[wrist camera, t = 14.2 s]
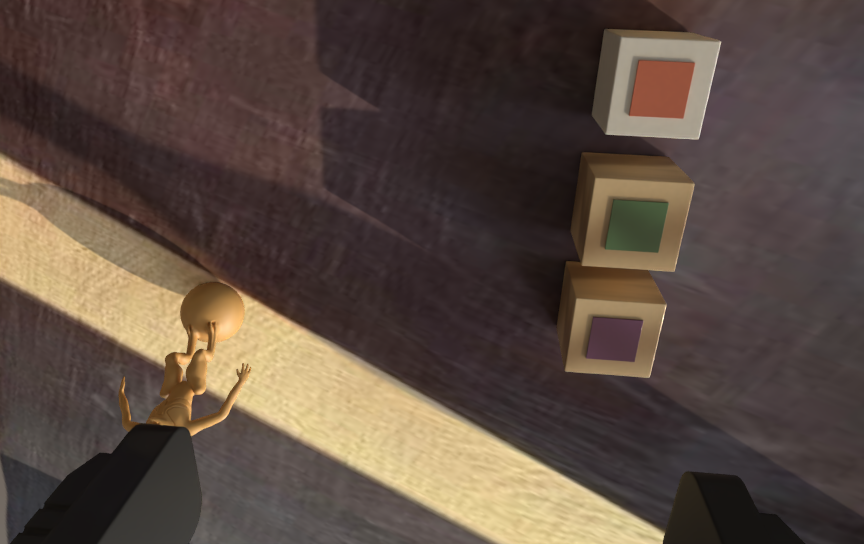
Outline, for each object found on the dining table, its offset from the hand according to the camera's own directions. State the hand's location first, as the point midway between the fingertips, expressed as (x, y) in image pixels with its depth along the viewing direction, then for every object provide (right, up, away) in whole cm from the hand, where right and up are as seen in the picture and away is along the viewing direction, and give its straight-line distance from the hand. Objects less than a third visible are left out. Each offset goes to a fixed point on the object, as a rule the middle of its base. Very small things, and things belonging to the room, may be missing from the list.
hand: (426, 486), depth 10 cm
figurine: (-14, +1, +32) cm, 35 cm away
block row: (+11, +11, +25) cm, 30 cm away
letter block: (+12, +14, +23) cm, 30 cm away
